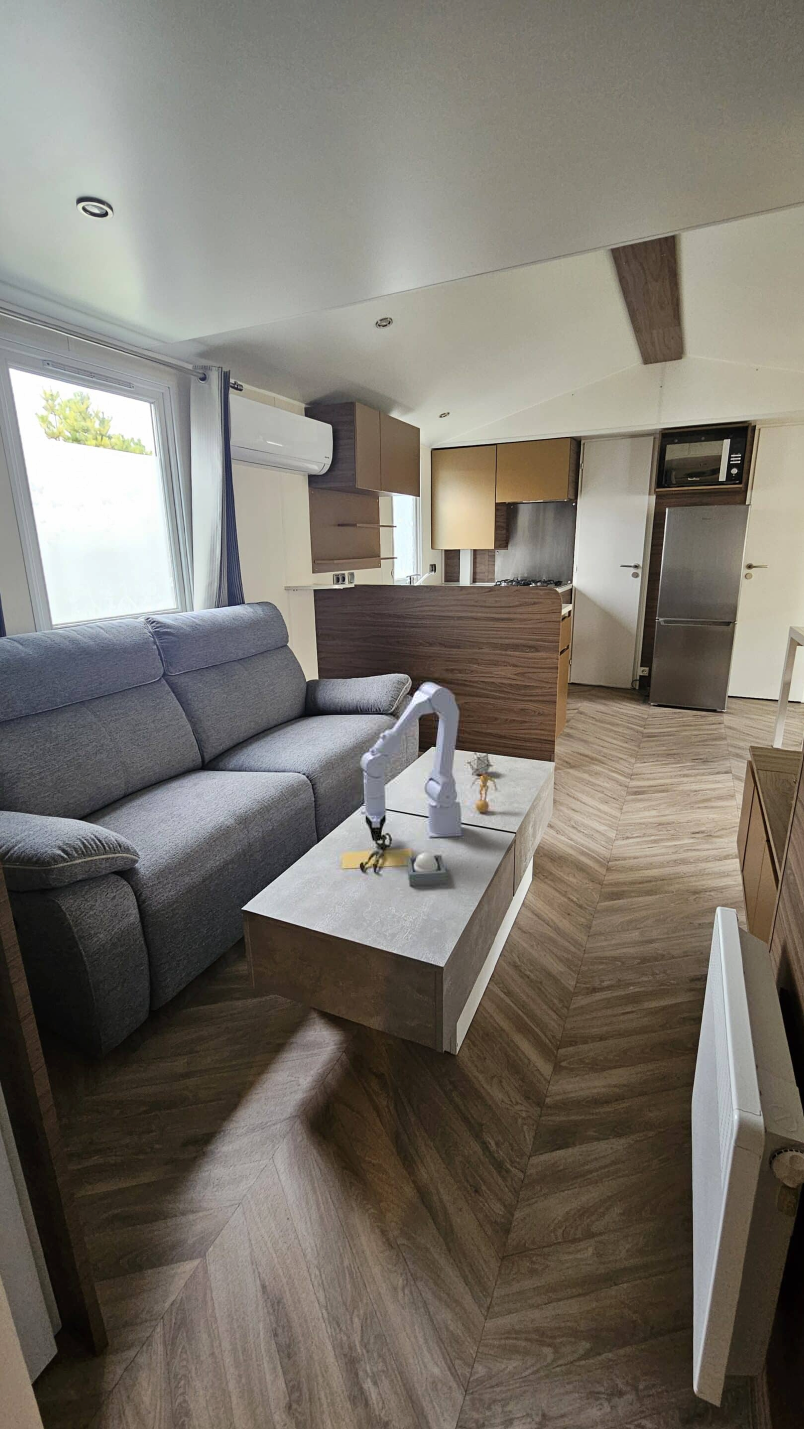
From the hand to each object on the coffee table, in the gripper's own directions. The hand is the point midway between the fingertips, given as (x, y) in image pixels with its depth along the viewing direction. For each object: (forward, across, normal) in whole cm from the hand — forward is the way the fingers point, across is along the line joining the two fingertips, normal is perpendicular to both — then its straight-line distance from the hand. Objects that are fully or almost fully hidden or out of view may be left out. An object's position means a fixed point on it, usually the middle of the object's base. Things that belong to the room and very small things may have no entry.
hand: (376, 840), depth 173 cm
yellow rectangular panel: (+1, +8, 0) cm, 8 cm away
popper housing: (+1, +19, +12) cm, 22 cm away
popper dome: (0, +19, +12) cm, 22 cm away
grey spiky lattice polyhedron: (+2, -52, +39) cm, 65 cm away
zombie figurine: (+2, +8, 0) cm, 8 cm away
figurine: (+2, -20, +34) cm, 39 cm away
